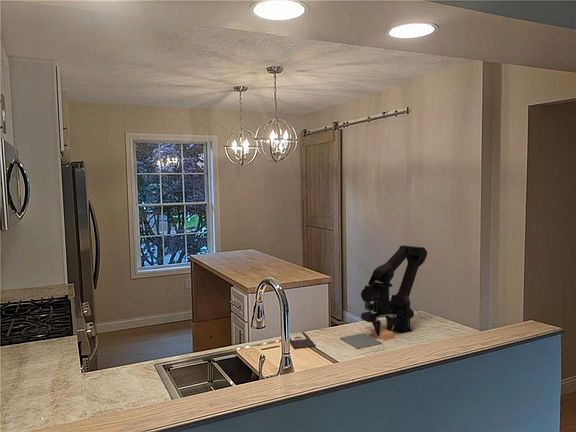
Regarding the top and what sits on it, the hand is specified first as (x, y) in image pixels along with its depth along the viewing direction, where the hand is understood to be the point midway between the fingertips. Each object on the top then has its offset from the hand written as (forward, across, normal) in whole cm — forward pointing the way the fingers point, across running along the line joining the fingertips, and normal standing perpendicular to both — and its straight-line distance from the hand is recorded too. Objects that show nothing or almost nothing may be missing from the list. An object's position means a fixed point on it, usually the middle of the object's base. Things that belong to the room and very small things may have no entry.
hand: (383, 334), depth 192 cm
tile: (+1, 0, 0) cm, 1 cm away
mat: (+1, +12, 0) cm, 12 cm away
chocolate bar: (+2, +34, -13) cm, 36 cm away
